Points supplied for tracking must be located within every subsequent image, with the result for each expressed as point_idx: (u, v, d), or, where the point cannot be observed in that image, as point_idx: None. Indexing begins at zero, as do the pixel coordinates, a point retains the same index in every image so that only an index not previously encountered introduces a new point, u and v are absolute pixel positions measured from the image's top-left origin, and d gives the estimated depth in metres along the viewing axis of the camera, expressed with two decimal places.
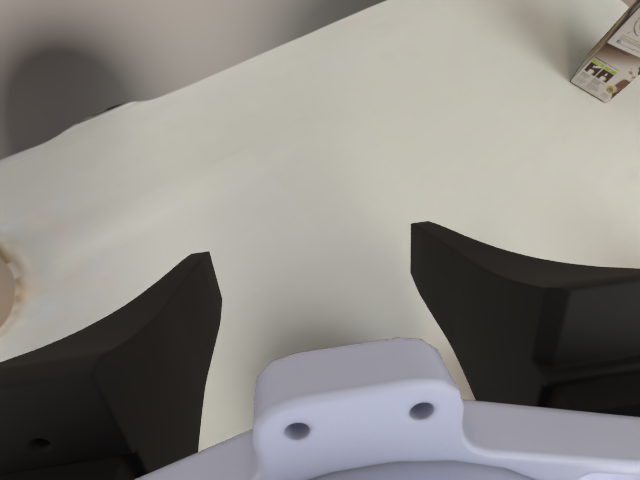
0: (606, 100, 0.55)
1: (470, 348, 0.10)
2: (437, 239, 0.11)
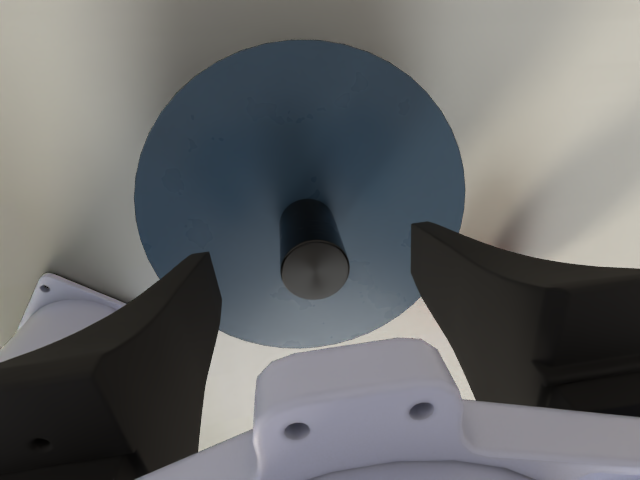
0: None
1: (470, 348, 0.10)
2: (437, 239, 0.11)
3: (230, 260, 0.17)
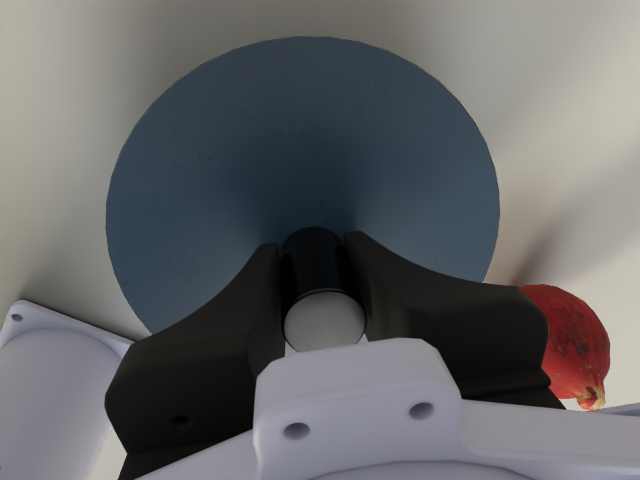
0: None
1: None
2: (357, 250, 0.11)
3: None
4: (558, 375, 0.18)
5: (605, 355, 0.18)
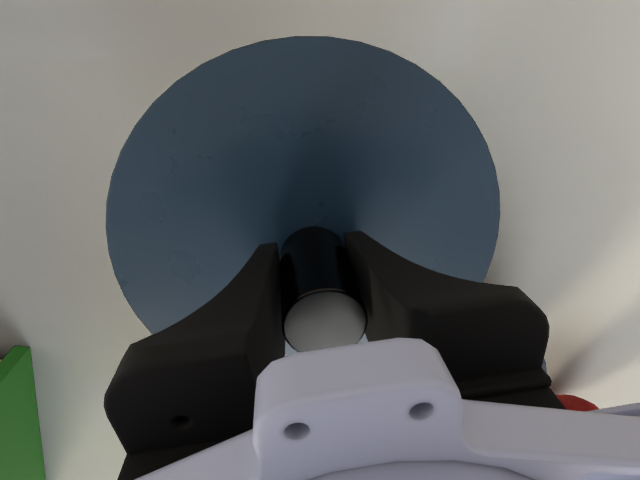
0: None
1: None
2: (357, 250, 0.11)
3: None
4: None
5: None
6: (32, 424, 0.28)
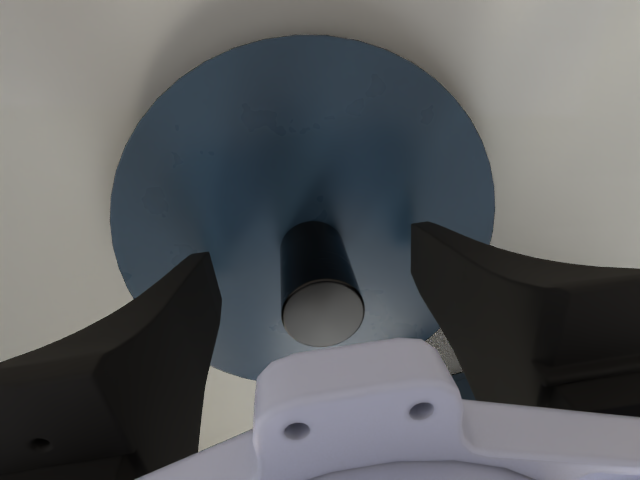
0: None
1: (470, 348, 0.10)
2: (437, 239, 0.11)
3: (223, 290, 0.15)
4: None
5: None
6: None
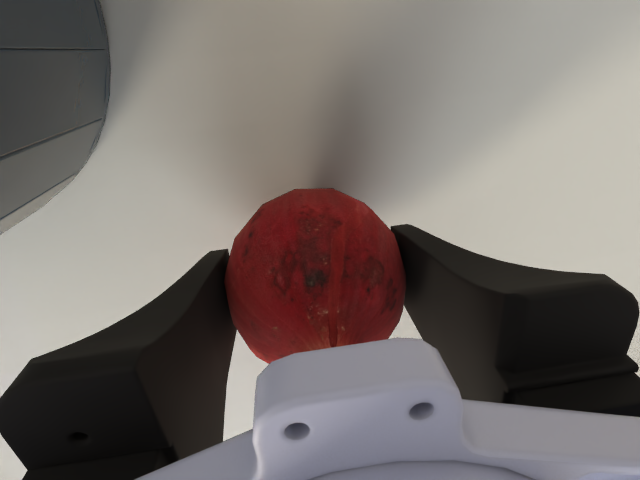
0: None
1: (444, 352, 0.10)
2: (413, 242, 0.11)
3: None
4: (276, 329, 0.10)
5: (366, 292, 0.10)
6: None
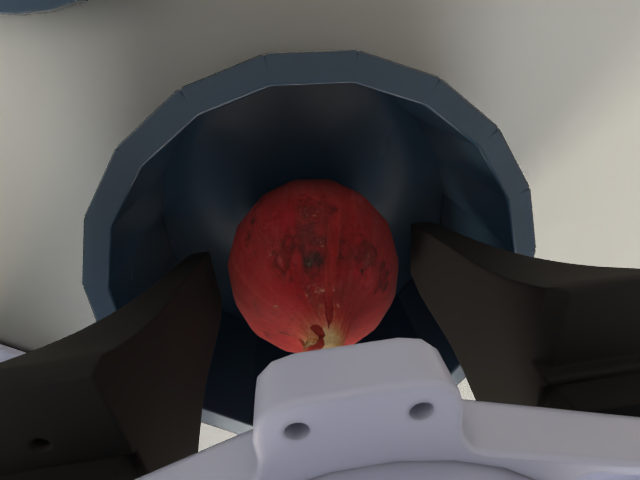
0: None
1: (470, 348, 0.10)
2: (437, 239, 0.11)
3: None
4: (276, 307, 0.10)
5: (360, 273, 0.10)
6: None
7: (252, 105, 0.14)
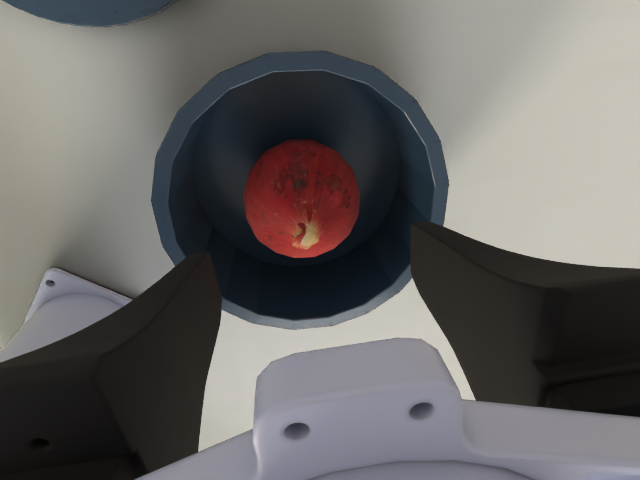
0: None
1: (470, 348, 0.10)
2: (437, 239, 0.11)
3: None
4: (276, 215, 0.16)
5: (329, 193, 0.16)
6: None
7: (258, 89, 0.20)
